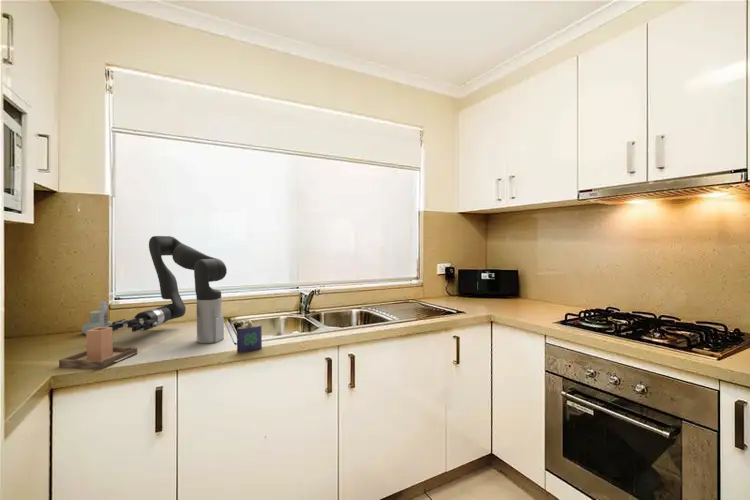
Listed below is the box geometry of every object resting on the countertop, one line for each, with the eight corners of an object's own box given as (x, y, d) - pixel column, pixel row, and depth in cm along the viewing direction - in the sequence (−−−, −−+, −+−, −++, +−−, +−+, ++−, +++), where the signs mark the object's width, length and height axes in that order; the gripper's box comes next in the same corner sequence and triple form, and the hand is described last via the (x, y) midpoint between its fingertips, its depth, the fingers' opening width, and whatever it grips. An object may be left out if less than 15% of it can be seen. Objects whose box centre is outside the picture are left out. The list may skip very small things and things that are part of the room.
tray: (137, 354, 131) (137, 348, 131) (101, 369, 116) (101, 362, 116) (99, 352, 132) (99, 346, 132) (59, 367, 118) (58, 360, 117)
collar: (112, 355, 126) (112, 327, 126) (101, 360, 122) (101, 331, 121) (98, 355, 127) (98, 327, 126) (86, 360, 122) (86, 330, 121)
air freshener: (101, 331, 163) (100, 308, 162) (117, 331, 161) (116, 309, 161) (77, 337, 152) (77, 313, 152) (94, 338, 151) (94, 314, 150)
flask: (260, 347, 140) (260, 319, 140) (263, 348, 138) (263, 320, 138) (236, 351, 135) (235, 323, 134) (238, 353, 132) (238, 324, 132)
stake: (117, 343, 144) (116, 300, 143) (105, 348, 138) (105, 303, 137) (102, 343, 144) (101, 300, 143) (90, 347, 138) (89, 303, 137)
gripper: (132, 309, 150) (102, 318, 134) (166, 310, 150) (140, 319, 134) (132, 328, 150) (102, 339, 134) (166, 328, 150) (140, 339, 134)
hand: (121, 329), depth 134 cm, fingers open, 8 cm apart
